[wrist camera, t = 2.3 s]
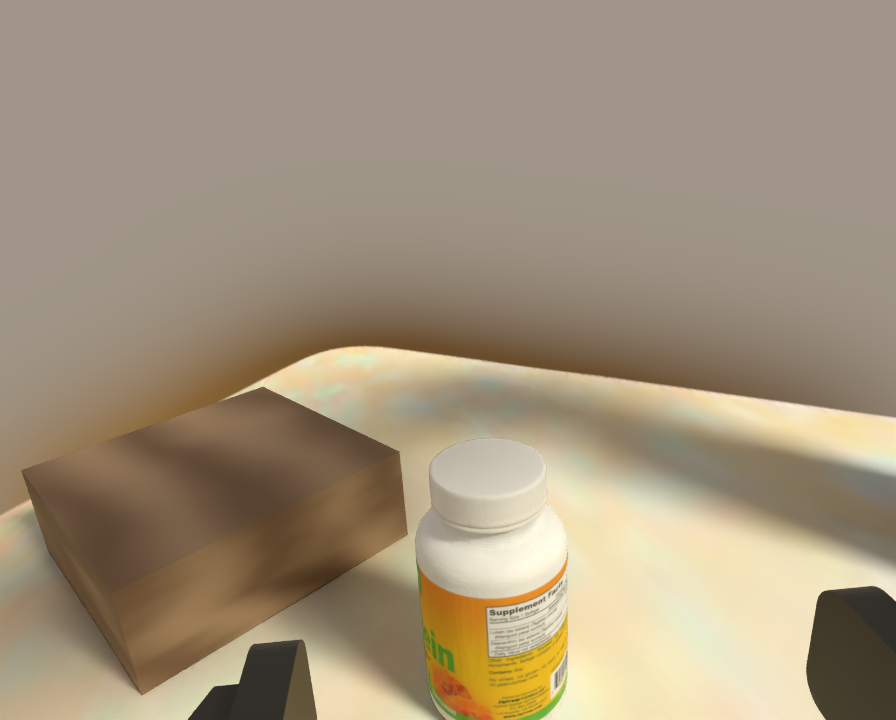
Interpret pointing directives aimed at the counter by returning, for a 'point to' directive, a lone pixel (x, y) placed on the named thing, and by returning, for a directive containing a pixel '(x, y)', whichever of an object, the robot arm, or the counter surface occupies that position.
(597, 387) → the counter surface
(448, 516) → the supplement bottle
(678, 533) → the counter surface
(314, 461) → the walnut block
